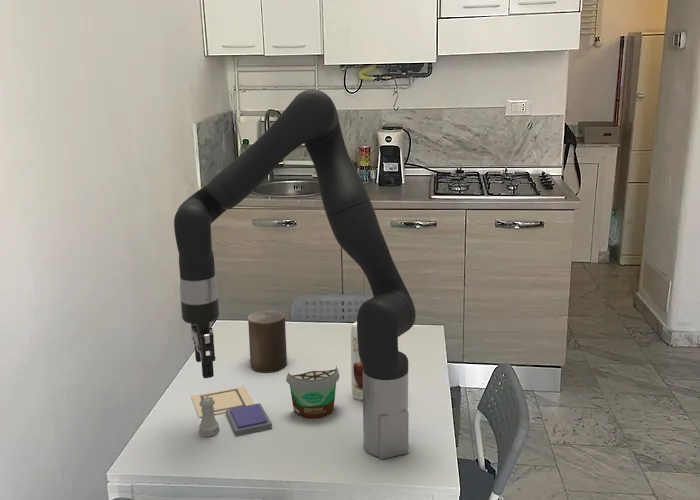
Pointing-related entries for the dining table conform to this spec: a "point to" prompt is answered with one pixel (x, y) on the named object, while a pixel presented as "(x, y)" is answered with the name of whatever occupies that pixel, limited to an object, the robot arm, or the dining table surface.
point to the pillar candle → (267, 341)
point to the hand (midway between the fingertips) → (204, 368)
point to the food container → (313, 393)
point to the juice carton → (356, 365)
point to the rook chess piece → (208, 418)
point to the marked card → (224, 400)
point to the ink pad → (248, 419)
